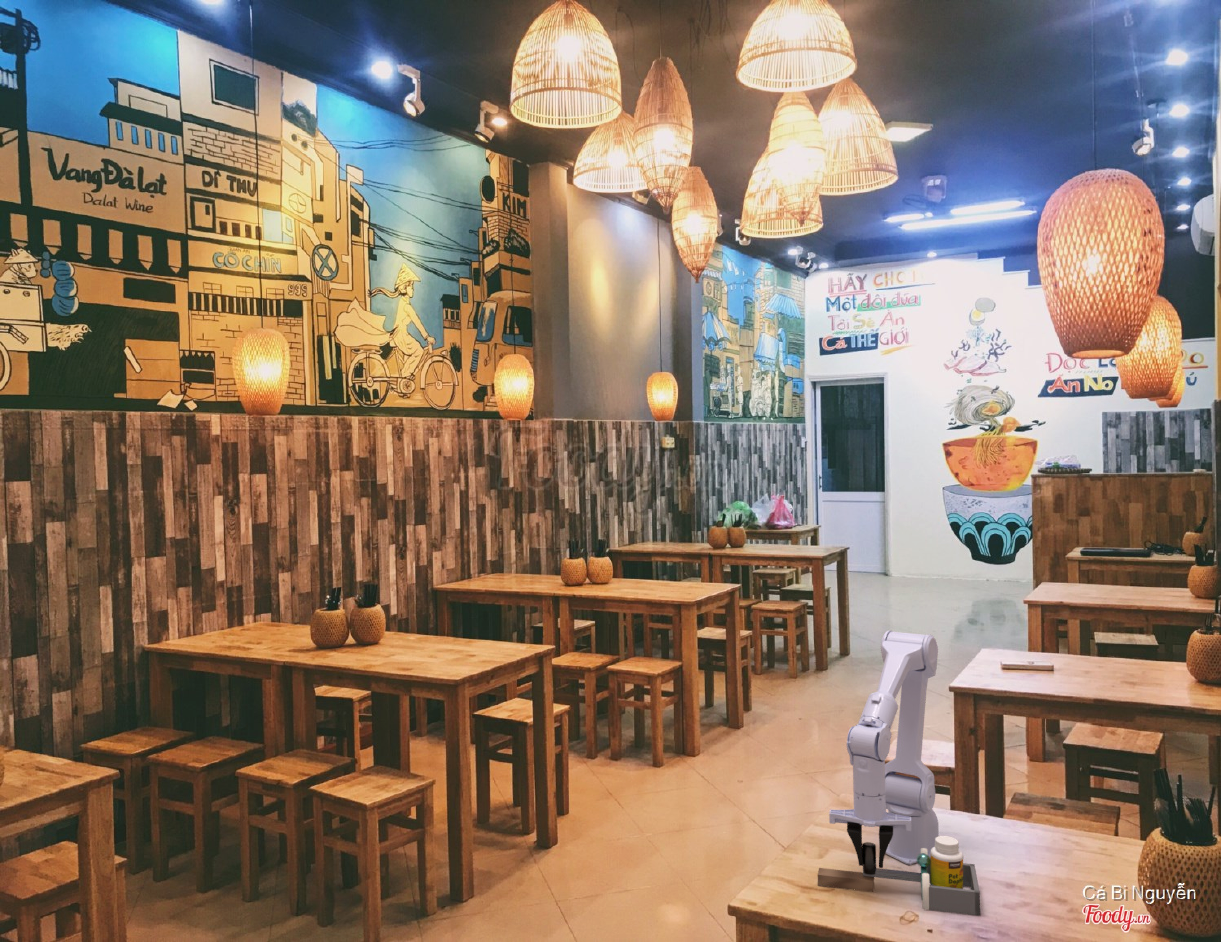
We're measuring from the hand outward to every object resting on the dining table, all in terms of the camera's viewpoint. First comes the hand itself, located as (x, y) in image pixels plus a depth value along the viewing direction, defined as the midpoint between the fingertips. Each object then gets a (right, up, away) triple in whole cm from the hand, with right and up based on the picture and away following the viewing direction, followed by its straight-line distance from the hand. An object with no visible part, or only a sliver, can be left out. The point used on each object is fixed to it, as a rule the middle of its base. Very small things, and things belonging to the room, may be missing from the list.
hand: (871, 864), depth 168 cm
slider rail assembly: (+4, -4, -1) cm, 6 cm away
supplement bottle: (+13, -4, -4) cm, 14 cm away
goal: (+13, -4, -4) cm, 14 cm away
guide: (-4, -4, +1) cm, 6 cm away
